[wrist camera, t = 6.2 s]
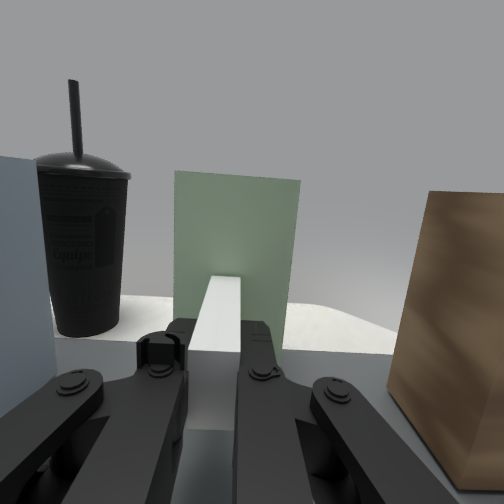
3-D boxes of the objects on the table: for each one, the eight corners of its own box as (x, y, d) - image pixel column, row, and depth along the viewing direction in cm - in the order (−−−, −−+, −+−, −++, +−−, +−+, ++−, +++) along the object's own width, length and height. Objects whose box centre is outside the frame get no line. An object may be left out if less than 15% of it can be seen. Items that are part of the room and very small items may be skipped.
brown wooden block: (594, 493, 12) (729, 209, 9) (458, 489, 11) (553, 194, 9) (478, 390, 18) (538, 199, 15) (386, 386, 17) (429, 190, 15)
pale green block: (276, 393, 16) (300, 180, 13) (172, 388, 16) (174, 170, 13) (268, 337, 22) (283, 181, 19) (191, 333, 22) (196, 174, 19)
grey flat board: (643, 588, 10) (660, 560, 10) (-297, 577, 9) (-316, 543, 8) (430, 373, 22) (435, 356, 22) (11, 353, 20) (9, 335, 20)
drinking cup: (140, 304, 30) (135, 102, 25) (127, 343, 23) (117, 71, 18) (59, 306, 28) (38, 88, 23) (17, 350, 21) (-25, 48, 16)
